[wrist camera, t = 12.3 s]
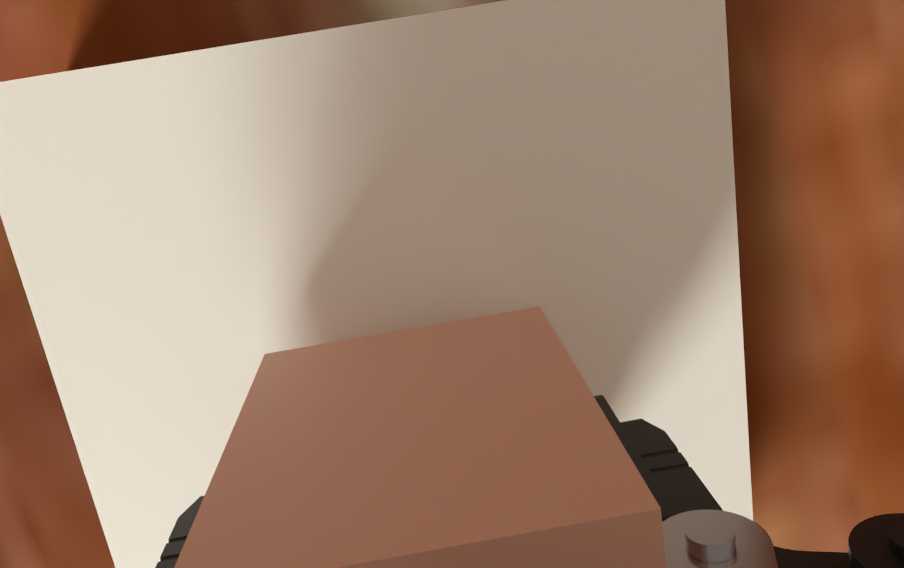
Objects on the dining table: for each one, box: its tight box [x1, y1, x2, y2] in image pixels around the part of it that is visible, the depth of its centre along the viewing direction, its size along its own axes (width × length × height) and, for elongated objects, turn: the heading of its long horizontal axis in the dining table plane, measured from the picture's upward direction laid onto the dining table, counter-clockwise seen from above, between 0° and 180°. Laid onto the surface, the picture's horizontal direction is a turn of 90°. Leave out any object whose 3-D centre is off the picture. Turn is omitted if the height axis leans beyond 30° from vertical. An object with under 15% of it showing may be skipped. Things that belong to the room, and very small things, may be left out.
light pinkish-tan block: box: [174, 306, 666, 568], centre depth 11 cm, size 4×4×6 cm
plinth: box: [0, 0, 753, 568], centre depth 16 cm, size 12×14×4 cm
